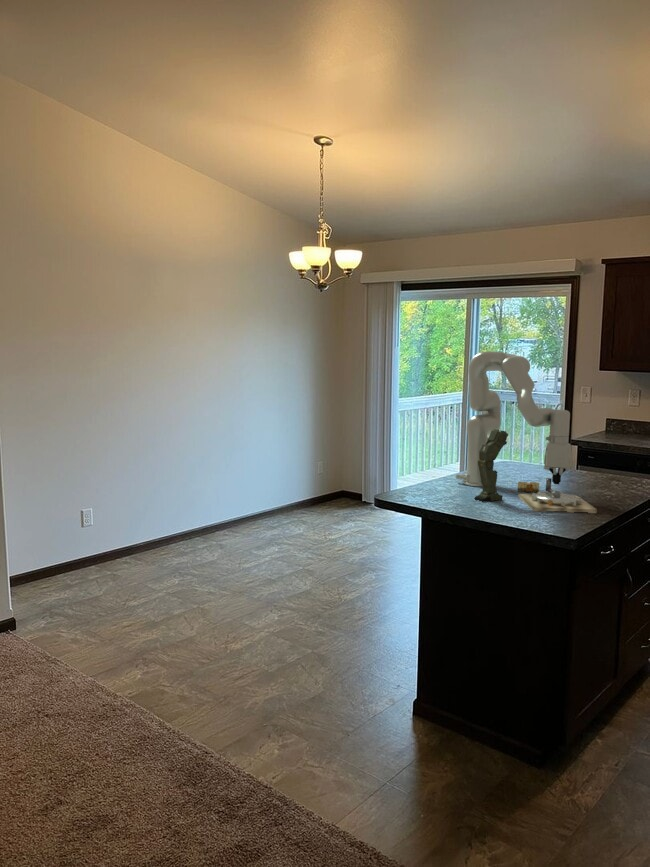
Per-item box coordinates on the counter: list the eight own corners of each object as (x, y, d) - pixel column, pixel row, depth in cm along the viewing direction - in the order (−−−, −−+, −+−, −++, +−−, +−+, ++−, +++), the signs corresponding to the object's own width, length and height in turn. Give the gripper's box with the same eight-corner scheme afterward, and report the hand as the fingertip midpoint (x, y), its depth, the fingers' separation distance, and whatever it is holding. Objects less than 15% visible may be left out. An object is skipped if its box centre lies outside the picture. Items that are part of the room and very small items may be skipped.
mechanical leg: (476, 501, 271) (494, 427, 270) (465, 497, 277) (482, 425, 277) (502, 506, 277) (519, 434, 277) (490, 502, 284) (507, 432, 283)
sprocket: (556, 507, 259) (557, 491, 258) (517, 496, 277) (518, 480, 276) (592, 503, 267) (593, 487, 266) (552, 492, 286) (553, 477, 285)
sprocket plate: (533, 511, 260) (533, 506, 260) (518, 497, 284) (518, 493, 284) (596, 513, 259) (597, 508, 259) (576, 499, 283) (577, 495, 283)
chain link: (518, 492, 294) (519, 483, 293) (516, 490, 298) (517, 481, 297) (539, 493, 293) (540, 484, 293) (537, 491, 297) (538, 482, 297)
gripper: (543, 440, 276) (540, 485, 278) (580, 441, 276) (577, 486, 278) (537, 438, 283) (535, 481, 286) (574, 439, 283) (571, 482, 285)
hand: (556, 483), depth 282 cm, fingers closed
